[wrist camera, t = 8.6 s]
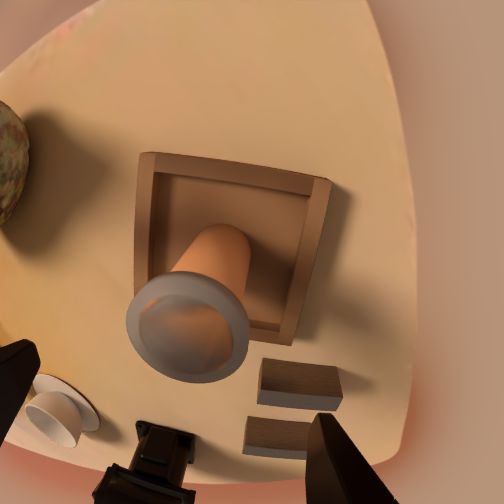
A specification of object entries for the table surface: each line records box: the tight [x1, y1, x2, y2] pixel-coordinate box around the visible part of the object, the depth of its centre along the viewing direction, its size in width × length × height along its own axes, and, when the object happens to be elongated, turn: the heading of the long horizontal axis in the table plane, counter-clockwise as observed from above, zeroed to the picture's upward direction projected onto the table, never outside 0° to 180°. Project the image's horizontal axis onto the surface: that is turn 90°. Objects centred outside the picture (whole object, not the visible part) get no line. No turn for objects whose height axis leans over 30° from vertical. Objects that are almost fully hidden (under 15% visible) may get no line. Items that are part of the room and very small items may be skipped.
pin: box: [126, 224, 251, 383], centre depth 15 cm, size 5×5×9 cm
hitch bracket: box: [242, 358, 343, 460], centre depth 22 cm, size 9×6×4 cm, turn 171°
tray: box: [134, 152, 332, 346], centre depth 19 cm, size 11×11×2 cm
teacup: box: [25, 374, 100, 448], centre depth 26 cm, size 10×10×5 cm
